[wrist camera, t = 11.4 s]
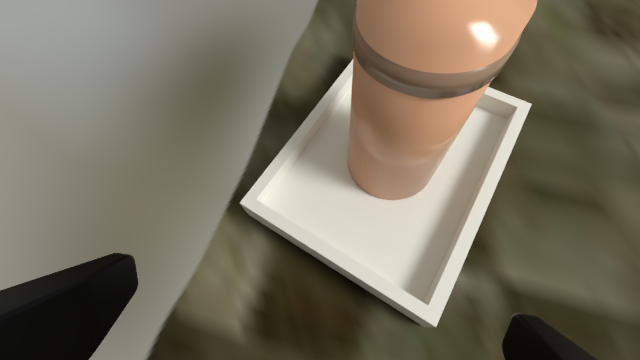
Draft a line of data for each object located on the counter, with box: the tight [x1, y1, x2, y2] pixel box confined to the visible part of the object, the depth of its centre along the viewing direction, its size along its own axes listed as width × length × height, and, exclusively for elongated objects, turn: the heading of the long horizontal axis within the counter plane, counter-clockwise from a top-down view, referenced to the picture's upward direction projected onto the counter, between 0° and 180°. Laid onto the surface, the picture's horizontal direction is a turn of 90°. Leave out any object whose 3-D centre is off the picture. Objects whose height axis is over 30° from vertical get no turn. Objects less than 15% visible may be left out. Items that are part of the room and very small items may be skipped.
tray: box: [240, 60, 531, 327], centre depth 23 cm, size 18×14×2 cm
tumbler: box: [347, 0, 537, 200], centre depth 17 cm, size 7×7×13 cm
